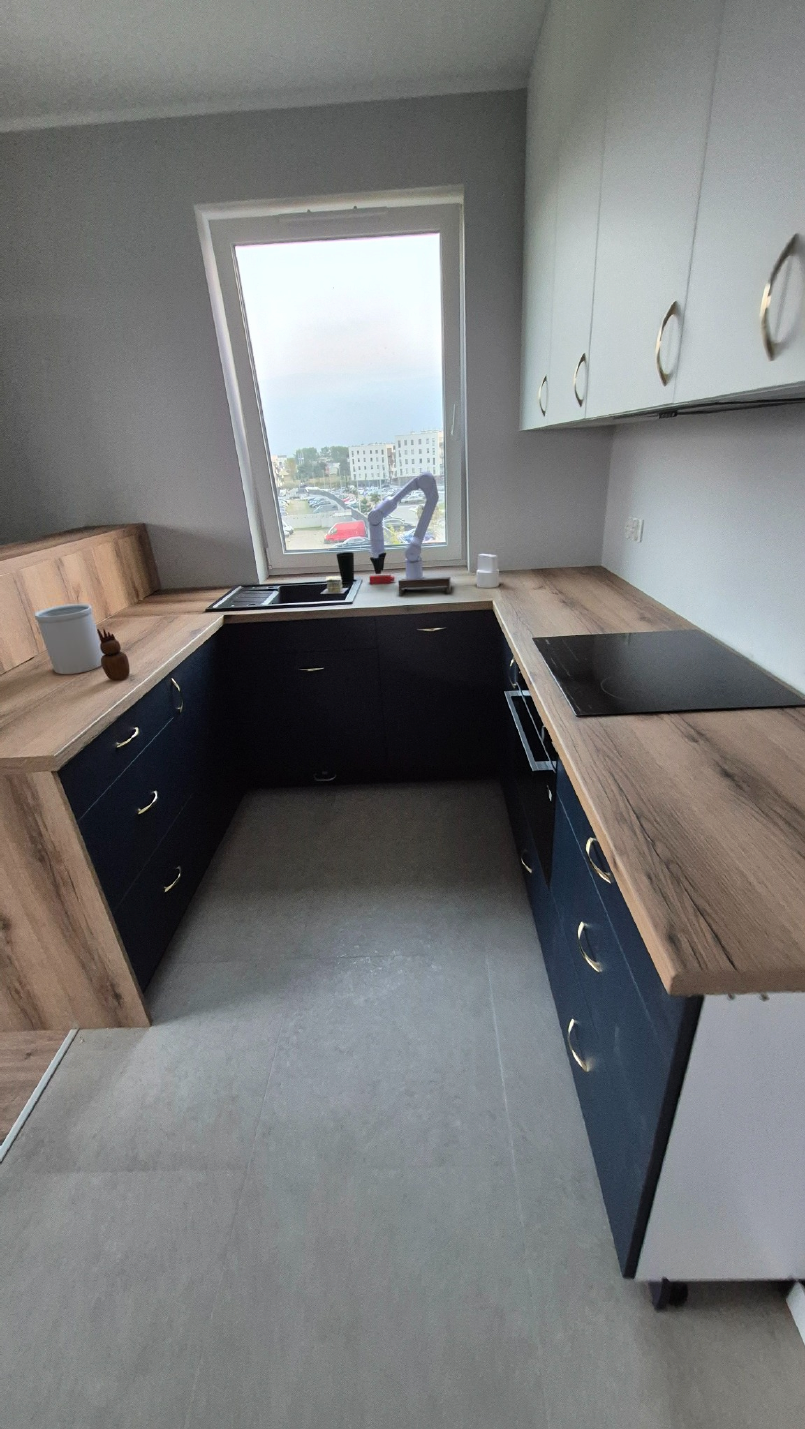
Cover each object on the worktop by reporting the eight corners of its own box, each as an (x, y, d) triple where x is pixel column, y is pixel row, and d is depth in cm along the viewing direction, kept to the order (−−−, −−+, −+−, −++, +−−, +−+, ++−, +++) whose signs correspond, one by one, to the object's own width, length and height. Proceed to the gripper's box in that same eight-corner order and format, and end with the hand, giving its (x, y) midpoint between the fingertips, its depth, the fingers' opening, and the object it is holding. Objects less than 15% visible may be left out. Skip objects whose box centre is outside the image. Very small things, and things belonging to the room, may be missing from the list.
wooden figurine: (107, 684, 158) (91, 632, 152) (106, 678, 163) (90, 627, 156) (133, 679, 161) (118, 627, 154) (131, 673, 165) (117, 622, 159)
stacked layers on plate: (348, 588, 246) (347, 575, 243) (343, 593, 238) (341, 580, 235) (326, 588, 247) (324, 576, 245) (320, 593, 240) (318, 580, 237)
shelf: (402, 588, 238) (401, 574, 236) (450, 586, 236) (450, 572, 233) (399, 595, 227) (398, 580, 225) (449, 593, 225) (449, 578, 222)
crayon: (371, 582, 253) (370, 575, 252) (394, 581, 252) (394, 574, 250) (369, 584, 250) (369, 577, 249) (394, 583, 249) (393, 576, 248)
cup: (355, 582, 255) (352, 554, 250) (338, 583, 256) (335, 555, 251) (357, 578, 262) (354, 551, 257) (340, 579, 263) (337, 552, 258)
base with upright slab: (503, 584, 232) (503, 554, 227) (486, 588, 228) (486, 558, 223) (488, 581, 239) (488, 552, 234) (472, 585, 235) (471, 555, 230)
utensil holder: (98, 654, 183) (81, 600, 176) (115, 664, 173) (98, 607, 166) (47, 668, 174) (27, 611, 167) (62, 679, 164) (42, 619, 157)
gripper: (370, 537, 250) (373, 569, 256) (364, 543, 237) (367, 576, 243) (386, 536, 249) (388, 568, 255) (381, 542, 236) (384, 575, 242)
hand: (379, 572), depth 249 cm, fingers open, 7 cm apart
